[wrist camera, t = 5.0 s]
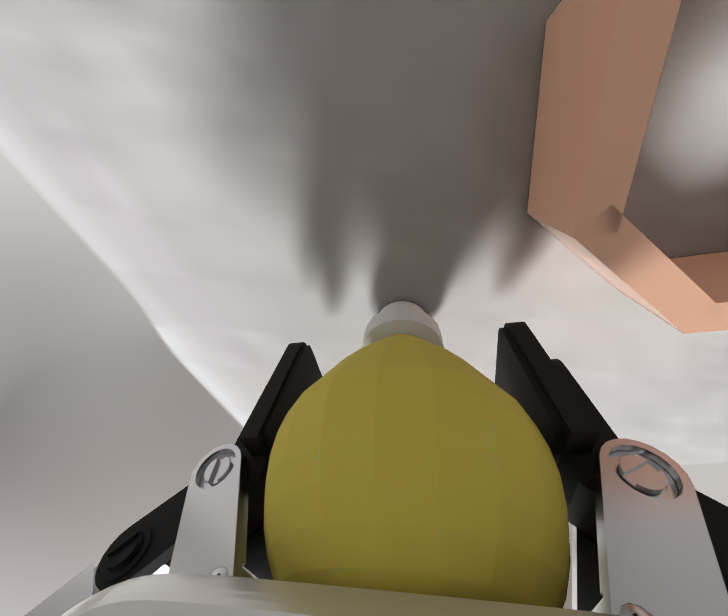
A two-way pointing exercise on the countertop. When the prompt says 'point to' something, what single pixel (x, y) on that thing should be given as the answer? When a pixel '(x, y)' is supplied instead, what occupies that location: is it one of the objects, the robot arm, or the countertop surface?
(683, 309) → the terracotta ring
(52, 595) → the robot arm
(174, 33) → the countertop surface
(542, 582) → the light bulb
